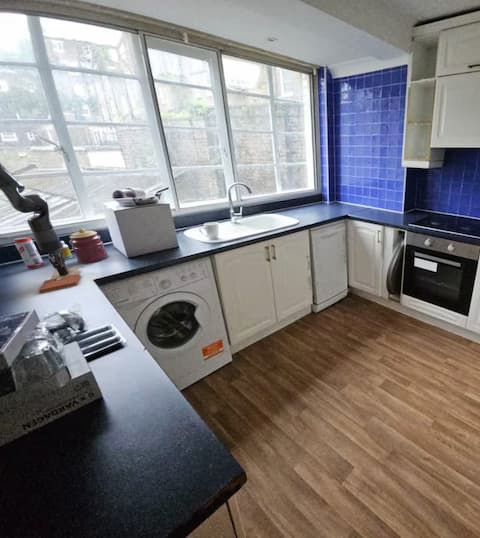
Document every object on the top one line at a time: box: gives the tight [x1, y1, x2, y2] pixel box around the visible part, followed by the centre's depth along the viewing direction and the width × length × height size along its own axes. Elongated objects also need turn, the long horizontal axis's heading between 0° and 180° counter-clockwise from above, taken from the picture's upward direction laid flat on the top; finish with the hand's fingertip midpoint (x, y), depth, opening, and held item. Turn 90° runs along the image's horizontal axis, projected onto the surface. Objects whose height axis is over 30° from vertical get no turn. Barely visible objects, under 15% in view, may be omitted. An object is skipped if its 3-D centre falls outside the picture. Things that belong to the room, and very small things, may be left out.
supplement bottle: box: [58, 240, 74, 261], centre depth 164 cm, size 5×5×10 cm
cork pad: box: [49, 262, 80, 281], centre depth 139 cm, size 9×12×6 cm
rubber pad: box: [38, 273, 81, 294], centre depth 133 cm, size 12×12×2 cm
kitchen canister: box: [68, 227, 108, 264], centre depth 160 cm, size 13×13×18 cm
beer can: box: [13, 236, 45, 270], centre depth 152 cm, size 6×6×16 cm
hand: (64, 273), depth 141 cm, fingers closed on cork pad, 3 cm apart
